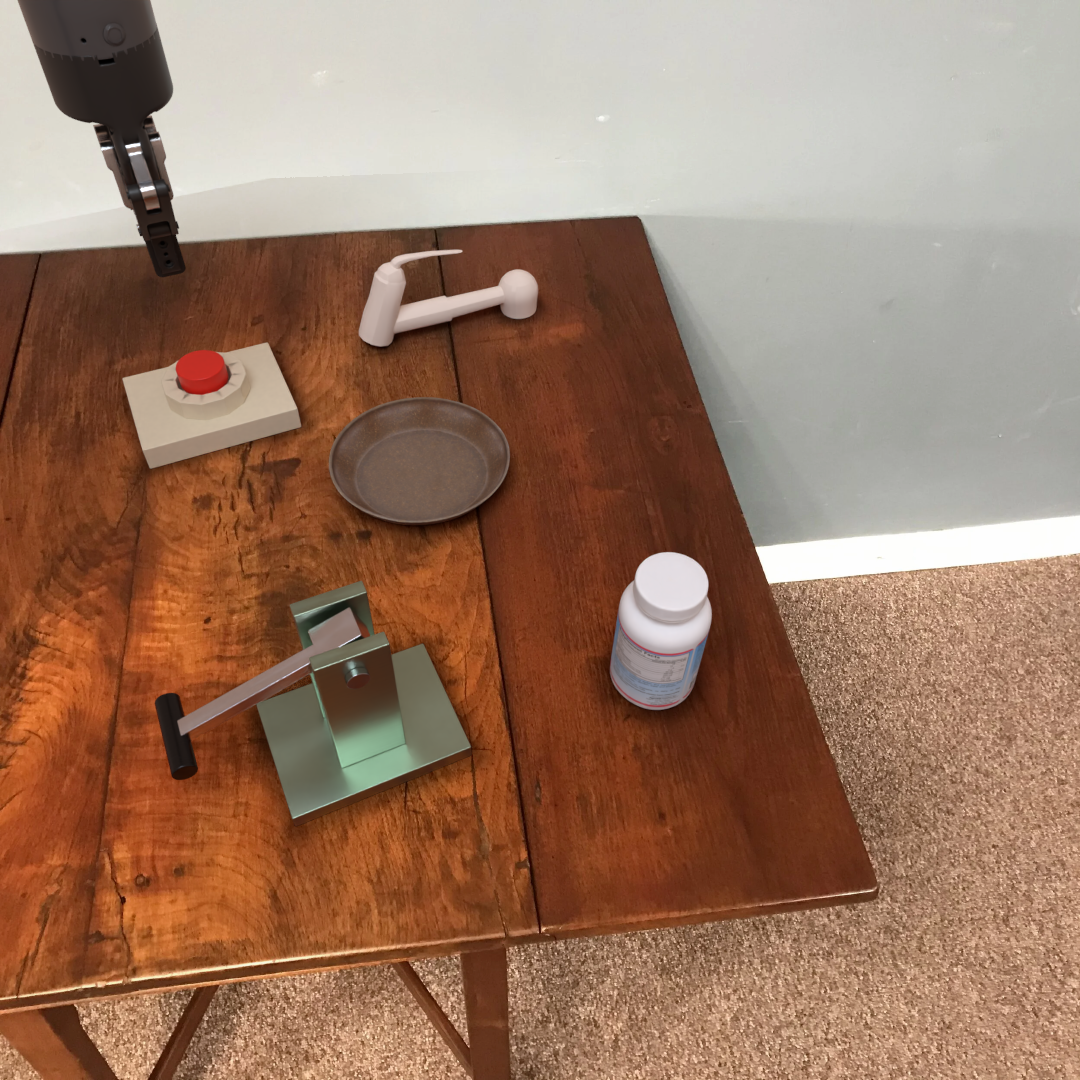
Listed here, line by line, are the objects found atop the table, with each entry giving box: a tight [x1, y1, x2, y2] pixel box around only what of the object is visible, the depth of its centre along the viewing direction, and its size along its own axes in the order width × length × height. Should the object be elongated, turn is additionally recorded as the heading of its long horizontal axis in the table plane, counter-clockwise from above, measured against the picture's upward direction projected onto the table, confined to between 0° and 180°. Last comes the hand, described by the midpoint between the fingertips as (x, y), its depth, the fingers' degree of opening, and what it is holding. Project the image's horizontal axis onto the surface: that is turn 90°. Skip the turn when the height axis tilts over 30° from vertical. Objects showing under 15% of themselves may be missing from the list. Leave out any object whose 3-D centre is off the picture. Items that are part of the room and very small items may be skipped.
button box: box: [121, 342, 302, 469], centre depth 82 cm, size 13×10×4 cm
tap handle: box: [154, 607, 370, 781], centre depth 55 cm, size 13×5×2 cm, turn 115°
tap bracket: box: [256, 580, 473, 827], centre depth 58 cm, size 12×9×13 cm
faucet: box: [358, 249, 539, 347], centre depth 91 cm, size 4×18×10 cm, turn 114°
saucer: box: [328, 396, 511, 526], centre depth 78 cm, size 15×15×3 cm
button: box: [176, 349, 228, 395], centre depth 80 cm, size 4×4×2 cm
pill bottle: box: [609, 551, 713, 711], centre depth 63 cm, size 6×6×11 cm
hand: (168, 264), depth 72 cm, fingers closed
